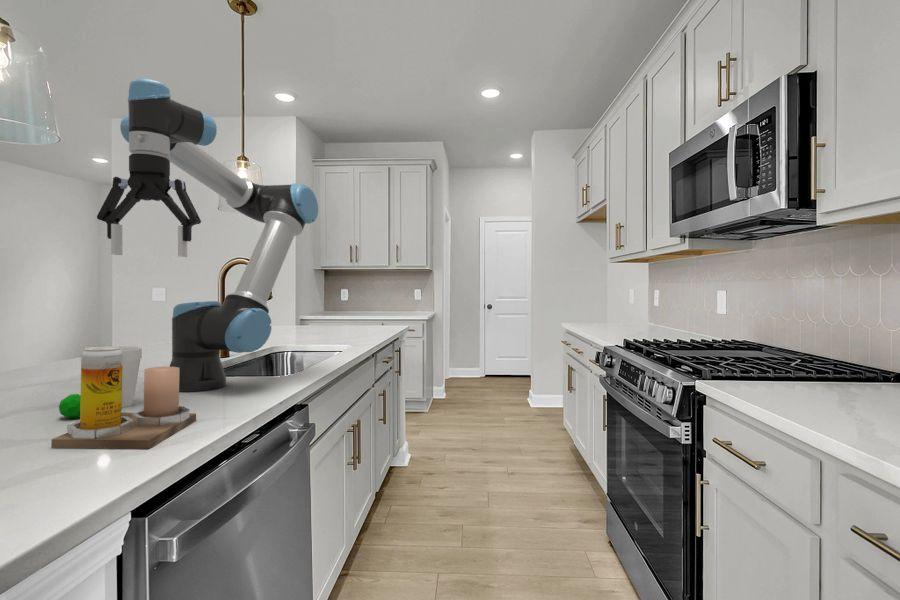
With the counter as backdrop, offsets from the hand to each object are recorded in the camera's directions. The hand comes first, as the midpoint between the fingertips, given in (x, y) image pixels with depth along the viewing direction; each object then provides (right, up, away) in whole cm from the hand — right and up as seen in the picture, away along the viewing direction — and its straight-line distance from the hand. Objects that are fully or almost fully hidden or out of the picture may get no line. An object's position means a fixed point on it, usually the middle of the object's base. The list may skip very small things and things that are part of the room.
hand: (149, 255), depth 107 cm
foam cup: (-12, -34, +7) cm, 36 cm away
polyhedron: (-13, -34, -4) cm, 37 cm away
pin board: (+4, -35, -13) cm, 37 cm away
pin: (+8, -33, -9) cm, 35 cm away
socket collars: (+5, -33, -13) cm, 36 cm away
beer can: (+2, -33, -18) cm, 38 cm away
